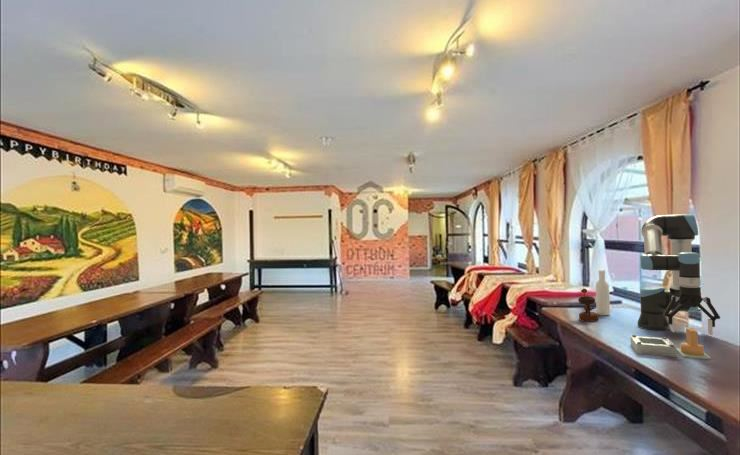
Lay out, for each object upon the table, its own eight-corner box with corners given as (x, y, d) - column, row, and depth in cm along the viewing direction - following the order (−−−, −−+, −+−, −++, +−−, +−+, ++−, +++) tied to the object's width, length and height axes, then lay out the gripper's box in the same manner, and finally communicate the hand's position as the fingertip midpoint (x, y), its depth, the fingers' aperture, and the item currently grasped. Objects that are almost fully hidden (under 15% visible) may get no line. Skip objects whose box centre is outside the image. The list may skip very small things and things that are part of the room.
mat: (675, 349, 186) (675, 347, 186) (701, 351, 182) (701, 350, 182) (682, 356, 175) (682, 355, 175) (711, 359, 171) (711, 357, 171)
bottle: (612, 315, 258) (610, 270, 258) (599, 315, 259) (597, 270, 259) (607, 313, 265) (605, 269, 266) (594, 313, 267) (593, 269, 267)
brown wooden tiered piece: (574, 317, 256) (573, 286, 256) (592, 317, 255) (591, 286, 255) (585, 323, 241) (583, 290, 241) (603, 323, 239) (602, 290, 240)
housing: (630, 344, 195) (630, 334, 195) (667, 347, 188) (667, 337, 188) (636, 353, 181) (636, 342, 181) (676, 357, 175) (676, 345, 175)
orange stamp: (678, 349, 184) (677, 326, 184) (699, 351, 181) (699, 328, 181) (684, 354, 176) (683, 331, 176) (706, 356, 173) (706, 332, 173)
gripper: (658, 286, 181) (660, 332, 181) (728, 288, 170) (730, 337, 170) (654, 284, 187) (656, 328, 187) (721, 285, 177) (723, 332, 177)
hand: (691, 332), depth 179 cm, fingers open, 13 cm apart
